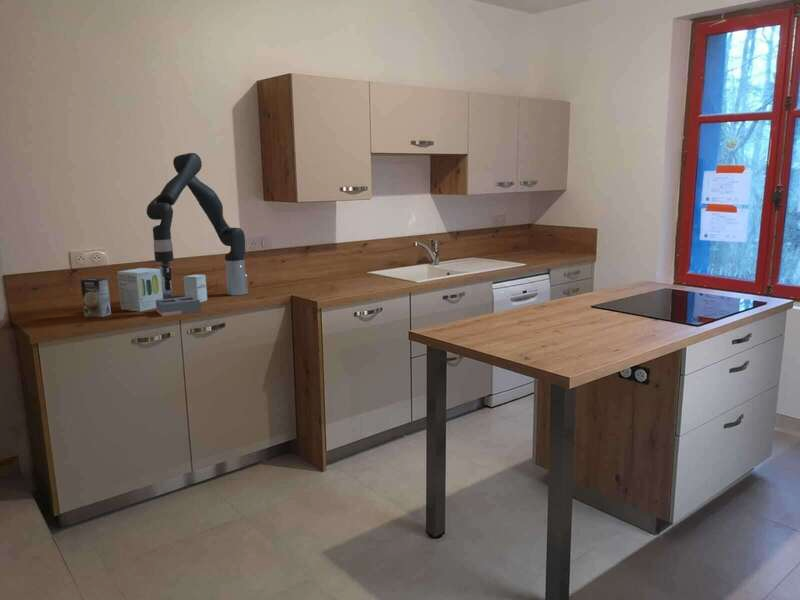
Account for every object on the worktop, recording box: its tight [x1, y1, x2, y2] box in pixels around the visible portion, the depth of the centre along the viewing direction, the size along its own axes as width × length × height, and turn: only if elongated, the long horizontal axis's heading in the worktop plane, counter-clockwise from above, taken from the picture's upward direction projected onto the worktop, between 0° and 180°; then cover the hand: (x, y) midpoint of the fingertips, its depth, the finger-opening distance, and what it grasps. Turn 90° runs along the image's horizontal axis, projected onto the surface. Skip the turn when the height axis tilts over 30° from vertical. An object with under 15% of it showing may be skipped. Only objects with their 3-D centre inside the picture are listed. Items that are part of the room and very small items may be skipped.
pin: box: [161, 274, 174, 299], centre depth 274 cm, size 4×4×10 cm
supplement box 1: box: [117, 267, 164, 312], centre depth 287 cm, size 13×13×18 cm
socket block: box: [155, 296, 202, 317], centre depth 277 cm, size 16×14×5 cm
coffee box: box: [80, 277, 112, 318], centre depth 272 cm, size 9×6×16 cm
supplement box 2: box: [183, 274, 208, 303], centre depth 299 cm, size 7×7×13 cm
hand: (167, 289), depth 274 cm, fingers closed on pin, 4 cm apart
